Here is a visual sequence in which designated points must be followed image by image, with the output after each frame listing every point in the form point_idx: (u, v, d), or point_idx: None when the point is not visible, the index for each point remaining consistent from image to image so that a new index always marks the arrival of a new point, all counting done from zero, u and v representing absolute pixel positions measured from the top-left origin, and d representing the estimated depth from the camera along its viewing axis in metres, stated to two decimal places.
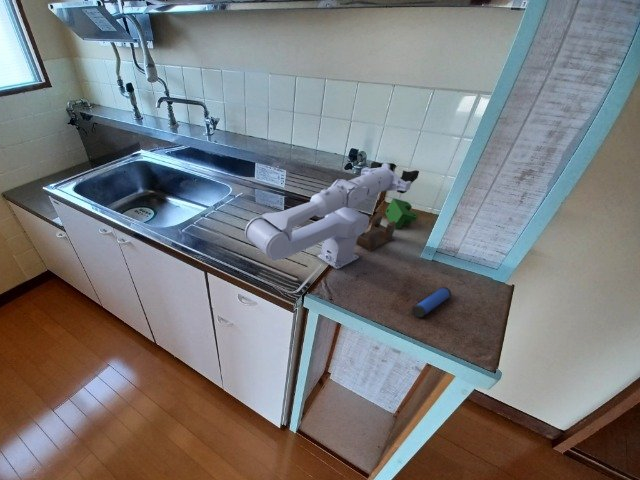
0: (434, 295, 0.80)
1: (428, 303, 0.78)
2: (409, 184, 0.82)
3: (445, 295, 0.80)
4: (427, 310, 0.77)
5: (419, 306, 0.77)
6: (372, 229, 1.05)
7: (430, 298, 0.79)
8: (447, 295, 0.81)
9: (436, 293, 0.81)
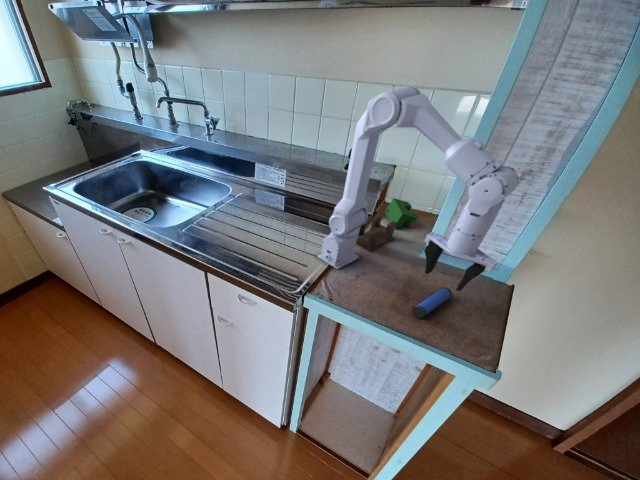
0: (435, 296, 0.80)
1: (429, 304, 0.78)
2: (494, 267, 0.66)
3: (445, 296, 0.80)
4: (428, 311, 0.77)
5: (420, 307, 0.77)
6: (372, 229, 1.05)
7: (431, 299, 0.79)
8: (448, 296, 0.81)
9: (437, 294, 0.80)
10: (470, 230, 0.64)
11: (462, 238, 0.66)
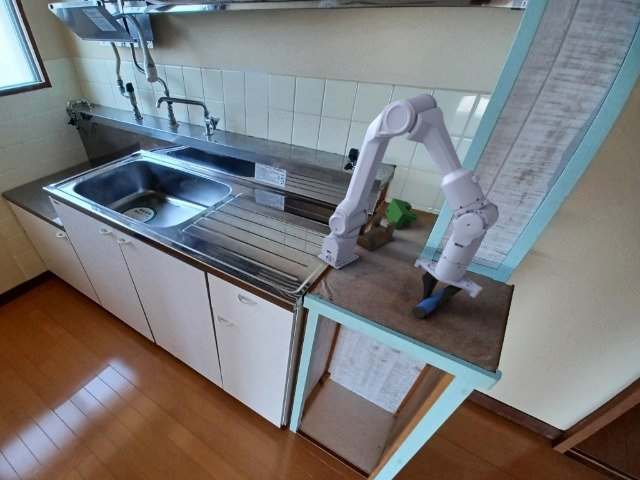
0: (435, 296, 0.80)
1: (429, 304, 0.78)
2: (478, 293, 0.71)
3: None
4: (428, 311, 0.77)
5: (420, 307, 0.77)
6: (372, 229, 1.05)
7: (431, 299, 0.79)
8: None
9: (437, 294, 0.80)
10: (455, 259, 0.69)
11: (448, 266, 0.70)
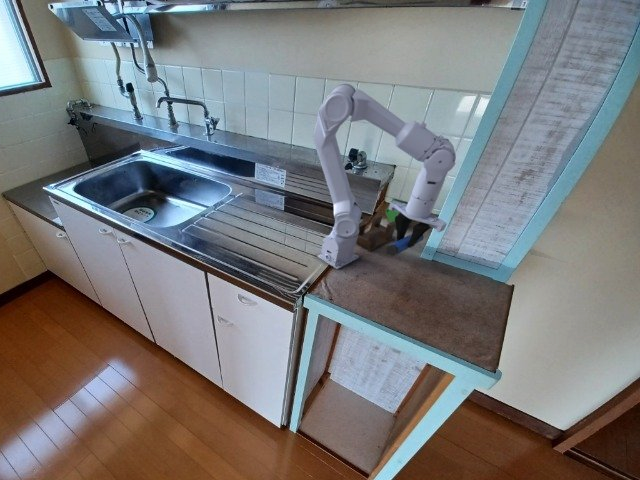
0: (408, 237, 0.87)
1: (402, 243, 0.85)
2: (443, 228, 0.78)
3: None
4: (400, 249, 0.84)
5: (393, 245, 0.84)
6: (372, 229, 1.05)
7: (404, 239, 0.86)
8: (419, 238, 0.88)
9: (410, 235, 0.87)
10: (429, 196, 0.75)
11: (416, 203, 0.77)
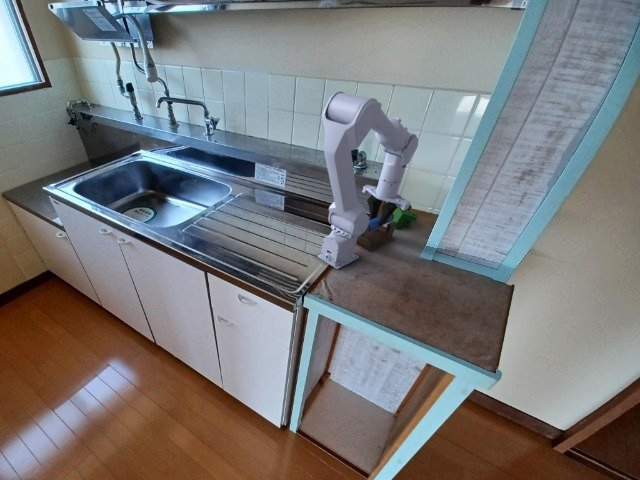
0: (379, 216, 0.99)
1: (374, 221, 0.97)
2: (408, 206, 0.90)
3: None
4: (372, 227, 0.96)
5: None
6: None
7: (376, 218, 0.98)
8: (390, 217, 1.00)
9: (381, 215, 0.99)
10: (402, 177, 0.88)
11: (384, 185, 0.89)
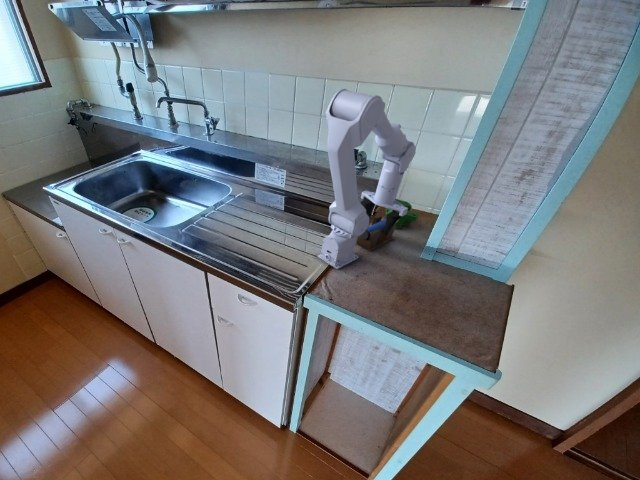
0: (379, 223, 1.00)
1: (373, 228, 0.98)
2: (405, 212, 0.91)
3: None
4: None
5: (366, 230, 0.97)
6: None
7: (375, 225, 0.99)
8: None
9: (381, 222, 1.00)
10: (400, 183, 0.89)
11: (382, 191, 0.90)
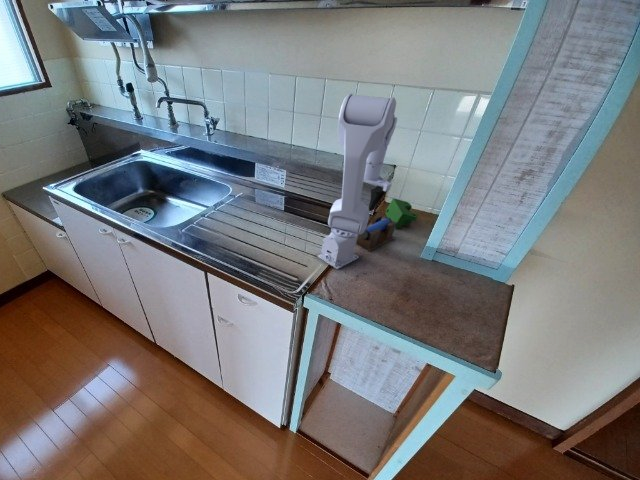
0: (378, 222, 1.00)
1: (372, 228, 0.98)
2: (389, 188, 0.92)
3: (386, 223, 1.01)
4: None
5: (365, 229, 0.97)
6: None
7: (375, 224, 0.99)
8: None
9: (380, 221, 1.00)
10: (384, 157, 0.91)
11: (366, 167, 0.91)
